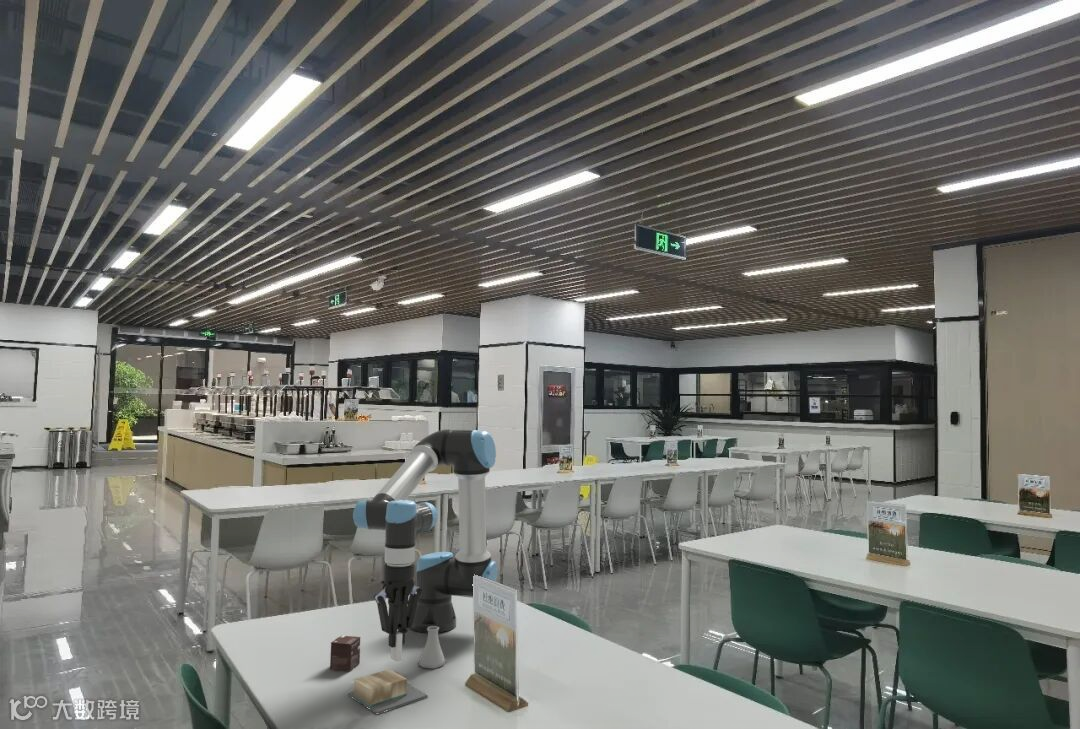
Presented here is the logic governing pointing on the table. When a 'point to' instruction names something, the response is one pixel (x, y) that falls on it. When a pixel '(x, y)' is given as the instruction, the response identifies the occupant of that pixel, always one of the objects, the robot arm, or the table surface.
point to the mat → (397, 700)
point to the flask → (432, 650)
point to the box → (345, 653)
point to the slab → (380, 687)
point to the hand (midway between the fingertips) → (396, 659)
